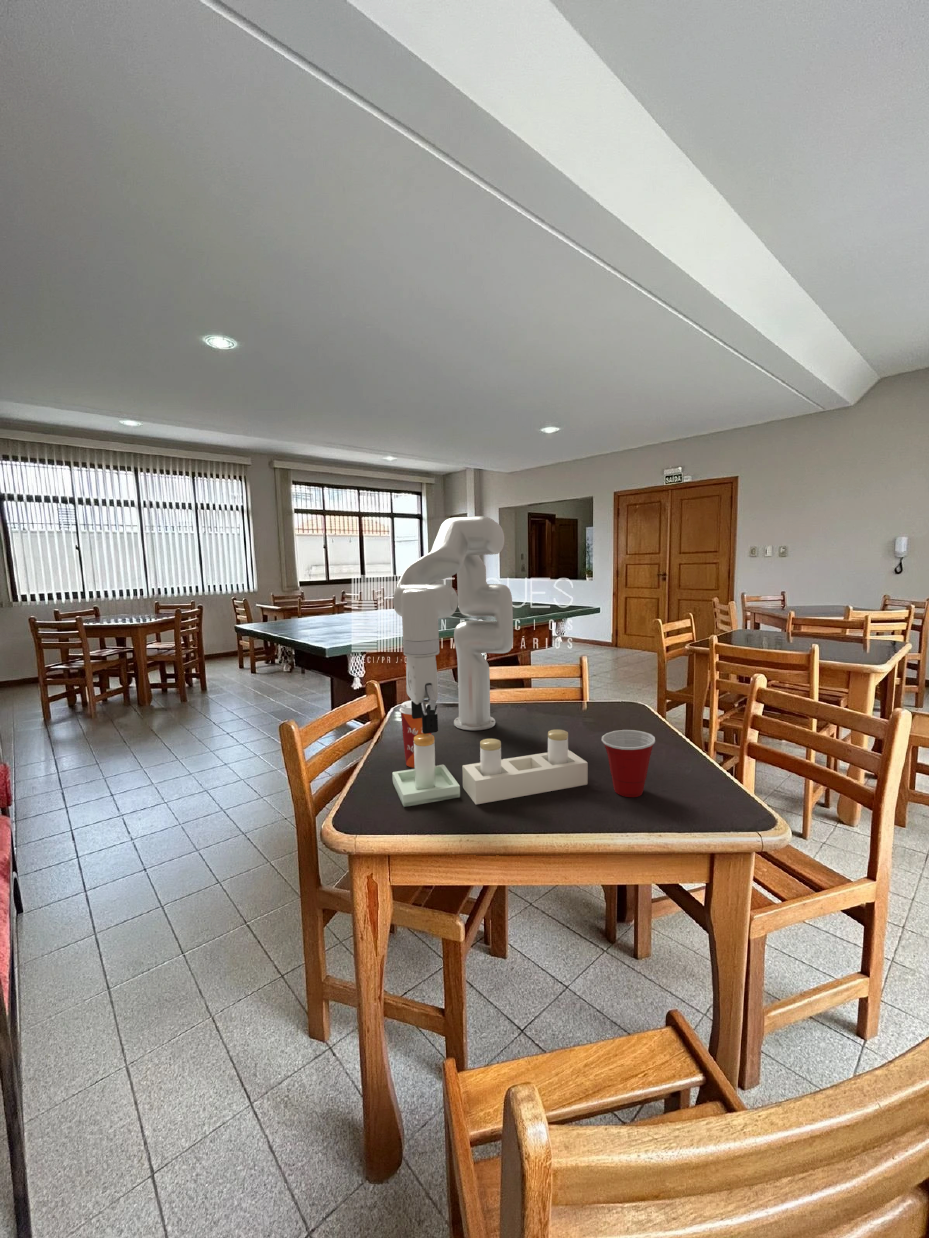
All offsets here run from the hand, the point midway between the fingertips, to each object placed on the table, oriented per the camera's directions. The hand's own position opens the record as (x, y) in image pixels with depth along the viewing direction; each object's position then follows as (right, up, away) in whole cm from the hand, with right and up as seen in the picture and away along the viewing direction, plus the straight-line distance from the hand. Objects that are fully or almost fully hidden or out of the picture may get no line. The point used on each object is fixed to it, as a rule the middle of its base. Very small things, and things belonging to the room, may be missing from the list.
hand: (424, 724), depth 108 cm
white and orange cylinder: (0, -13, +1) cm, 13 cm away
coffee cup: (-3, -13, +16) cm, 20 cm away
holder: (+22, -14, +2) cm, 26 cm away
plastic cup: (+43, -14, -2) cm, 45 cm away
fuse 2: (+29, -13, +4) cm, 33 cm away
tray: (0, -14, +1) cm, 14 cm away
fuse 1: (+14, -14, -1) cm, 20 cm away
